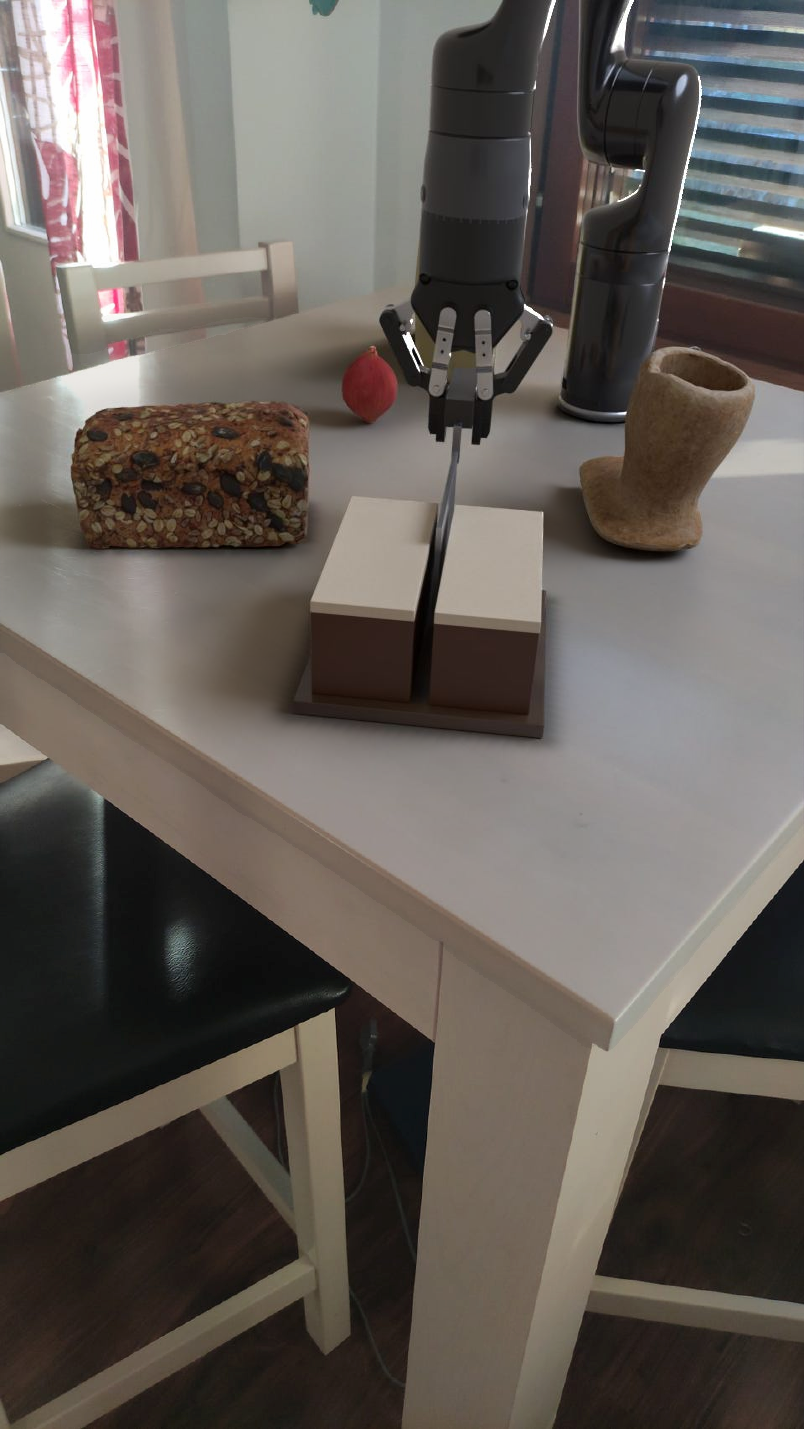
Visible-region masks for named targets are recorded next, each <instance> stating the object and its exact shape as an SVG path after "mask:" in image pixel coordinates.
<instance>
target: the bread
mask: <svg viewBox="0 0 804 1429" xmlns="http://www.w3.org/2000/svg"><path fill="white" fill-rule="evenodd" d="M73 446H74V447H73V448H74V449H73V452H72V453H71V462H72V463H71V465H70V479H71V484H72V492H73V494H74V497H75V502H76V503H75V504H76V510H77V515H78V518H79V523H80V524H79V525H80V528H81V530H82V533H83V535H84V538H85V540H86V543H87V546H88V547H92V548H93V549H97V550H98V549H99V550H100V549H109V547H110V546H113V547H122V548H131V549H135V548H137V549H138V548H139V549H140V548H144V547H148V548H151V549H152V548H153V549H166V548H172V547H173V548H179V547H181V548H210V547H212V548H219V547H221V546H233V547H236V548H237V547H239V548H240V547H246V548H247V547H248V548H249V547H250V548H251V547H253V548H260V547H267V546H271V547H279V546H280V547H281V546H282V545H285V544H286V543H289V544H293V545H298V544H300V543H302V542H305V541H306V540H307V533H308V517H309V503H310V470H311V469H310V456H309V455H310V420H309V418H308V412H307V411H305V410H304V409H303V408H301V406H298V405H294V404H290V403H287V402H285V401H278V400H277V401H276V400H275V401H274V400H272V401H257V400H249V401H239V402H229V403H225V402H218V401H207V402H204V401H203V402H199V403H190V402H187V403H186V404H183V403H180V404H177V405H165V404H161V405H159V404H158V405H140V406H120V407H110V408H109V407H107V408H104V409H103V408H102V409H101V410H98V411H96V412H95V413H93V415H91V416H90V417H88V418H86V420H85V421H84V426H83V428H79V427H78V429H77V431H76V432H75V438H74V444H73Z"/></svg>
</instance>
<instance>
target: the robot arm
mask: <svg viewBox="0 0 804 1429" xmlns="http://www.w3.org/2000/svg"><path fill="white" fill-rule="evenodd" d="M633 2H634V0H578V47H577V48H578V51H577V52H578V54H577V86H576V87H577V88H576V89H577V90H576V94H577V95H576V119H577V120H576V121H577V123H576V124H577V135H578V141H579V145H580V149H581V153H582V154H583V155H582V156H584V158H585V159H586V160H587V161H588V162H589V163H591V164H594V165H597V166H600V167H606V168H615V169H622V170H629V171H630V170H631V171H639V172H643V173H642V178H641V181H640V184H639V186H638V189H637V190H636V191H635V192H634V193H632V194H631V195H629V196H627V197H625V198H623V199H621V200H617V201H614V202H609V203H604V204H601V205H598V206H594V207H592V208H590V209H588V210H587V211H586V212H585V213H584V215H583V218H582V222H581V227H580V234H579V244H578V252H577V258H576V259H577V260H576V269H575V276H574V284H573V293H572V301H571V308H570V309H571V310H570V316H569V324H568V330H567V331H568V333H567V340H566V348H565V356H564V364H563V371H562V376H561V377H560V378H561V379H560V383H561V385H560V392H559V395H558V396H559V398H558V403H557V404H558V407H559V409H560V410H561V411H563V412H564V413H566V414H568V415H570V416H573V417H575V418H578V419H583V420H585V421H586V420H587V421H592V422H600V423H601V422H602V423H623V422H625V419H626V412H627V408H628V404H629V401H630V397H631V394H632V390H633V387H634V384H635V380H636V377H637V374H638V371H639V368H640V366H641V364H642V363H643V361H644V360H645V359H646V358H647V357H648V356H649V355H650V354H651V353H653V352H655V347H656V342H657V336H658V330H659V324H660V323H659V316H660V311H661V303H662V298H663V294H664V286H665V283H666V282H665V281H666V274H667V270H668V269H667V268H668V263H669V257H670V252H671V246H672V240H673V235H674V230H675V226H676V223H677V218H678V214H679V209H680V205H681V201H682V200H681V199H682V194H683V189H684V183H685V179H686V175H687V174H686V173H687V171H688V170H687V169H688V164H689V162H690V160H689V159H690V157H691V152H692V147H693V143H694V139H695V134H696V130H697V124H698V119H699V114H700V107H701V100H702V98H701V96H702V89H701V88H702V85H701V80H700V76H699V73H698V70H697V69H696V68H695V67H694V66H693V65H691V64H688V63H683V62H678V61H677V62H675V61H666V60H665V61H662V60H652V59H640V58H639V59H638V58H628V56H627V54H626V50H625V49H626V48H625V36H626V28H627V20H628V15H629V12H630V9H631V6H632V4H633ZM555 4H556V0H502V1H501V3H500V5H499V6H498V8H497V10H496V11H495V13H494V14H493V15H492V16H491V17H490V19H488V20H486V21H483V22H480V23H475V24H470V25H464V26H460V27H455V28H452V29H451V28H450V29H448V30H446V31H444V32H443V33H442V34H439V36H438V37H437V38H436V41H435V43H434V46H433V50H432V57H431V69H430V87H429V88H430V90H429V91H430V92H429V111H428V112H429V113H428V129H429V130H428V132H427V133H428V135H427V142H426V149H425V155H424V161H423V170H422V184H421V187H420V201H421V211H420V222H421V232H420V231H419V236H420V255H419V276H418V282H417V285H416V286H415V285H414V288H413V289H412V291H411V295H410V298H407V299H406V300H403V301H401V302H398V303H397V304H393V303H389V304H387V305H385V307H384V308H383V309H382V312H381V313H380V316H379V319H378V320H379V324H380V327H381V329H382V331H383V333H384V336H385V338H386V340H387V342H388V344H389V346H390V349H391V350H392V354H393V356H394V357H395V359H396V362H397V364H398V366H399V369H400V370H401V373H402V375H403V377H404V379H405V381H406V383H407V384H408V386H409V387H413V388H416V387H418V388H420V389H423V390H425V391H426V393H427V394H428V399H429V401H428V417H427V418H428V420H427V430H428V432H429V435H435V442H436V443H445V441H446V438H447V430H448V429H447V428H448V427H444V414H445V399H446V395H447V391H448V382H447V376H448V370H449V364H450V358H451V353H452V352H456V351H461V350H465V351H468V352H471V353H474V354H476V370H477V392H476V397H475V405H474V418H473V426H472V429H471V445H474V446H481V441H482V439H488V437H489V435H490V433H491V425H492V415H493V405H494V399H495V398H496V397H498V396H500V395H503V394H509V395H510V394H513V393H515V392H516V391H517V389H518V388H519V386H520V384H521V383H522V381H523V380H524V378H526V375H527V374H528V372H529V371H530V369H531V368H532V366H533V364H534V363H535V362H536V360H537V358H539V355H540V354H541V352H542V351H543V349H544V347H545V346H546V345H547V343H548V341H549V340H550V339H551V337H552V335H553V332H554V331H553V326H554V324H553V323H554V321H553V319H552V316H550V315H549V314H539V313H538V312H536V311H535V310H533V309H532V308H531V307H529V306H527V305H526V297H525V295H524V293H523V290H522V286H521V278H522V269H523V260H524V259H523V258H524V249H525V248H524V247H525V237H526V228H527V218H528V217H527V216H528V209H529V208H528V207H529V203H530V188H531V187H530V186H531V173H532V168H531V167H532V162H531V160H532V158H531V137H532V136H531V134H532V123H533V115H534V114H533V113H534V104H535V93H536V84H537V74H538V69H539V68H538V67H539V62H540V58H541V53H542V49H543V46H544V42H545V37H546V34H547V31H548V28H549V23H550V20H551V16H552V13H553V9H554V7H555ZM415 313H416V315H417V316H418V318H419V320H420V321H421V323H422V324H423V326H424V328H425V329H426V331H427V333H428V334H429V336H430V337H431V339H432V341H433V342H434V343H435V350H434V356H433V362H432V369H429V368H427V367H425V366H424V365H423V363H422V361H421V358H420V356H419V354H418V352H417V350H416V347H415V343H414V341H413V338H412V336H411V334H410V331H411V329H412V327H413V325H414V324H413V314H415ZM518 321H520V323H521V328H520V332H519V338H520V340H521V341H522V343H521V344H520V346H519V348H518V349H517V351H516V352H515V354H514V355H513V357H512V359H510V361H509V363H508V365H507V367H506V368H505V370H504V371H502V372H498V373H495V370H494V347H495V346H496V345H497V346H498V345H499V343H500V342H501V341H502V340H503V338H504V337H505V336H506V335H507V334H508V332H509V331H510V330H511V329H512V328H513V327H514V326H515V324H516V323H517V322H518ZM689 348H690V349H694V350H698V351H701V352H703V351H702V350H701V348H700V347H698V346H691V347H689Z"/></svg>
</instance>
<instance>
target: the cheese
mask: <svg viewBox="0 0 804 1429" xmlns="http://www.w3.org/2000/svg"><path fill="white" fill-rule="evenodd" d="M419 222H420V224H419V233H420V232H421V221H419ZM419 255H420V235H419V238H418V247H417V258H416V267H415V276H414V277H415V279H414V287H415V286H416V285H417V282H418V276H419ZM414 342H415V343H414V345H415V347H416V350H417V352H418V354H419V356H420V358H421V361H422V363H423V365H424V366H425V367H427V368H429V369H432V362H433V356H434V350H435V343H434V342H433V341H432V339H431V337H430V336H429V334H428V333H427V331H426V329H425V328H424V326H423V324H422V323H421V321H420V320H419V318H418V316H417V315H416V313H415V312H414ZM497 352H498V344H497V345H496V346H495V347H494V371H495V369H496V362H497ZM453 368H466V369H476V354H474V353H471V352H468V351H465V350H461V351H456V352H452V353H451V358H450V364H449V370H448V376H447V383H450V380H451V376H452V372H453Z"/></svg>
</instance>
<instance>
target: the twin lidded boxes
mask: <svg viewBox="0 0 804 1429" xmlns="http://www.w3.org/2000/svg"><path fill="white" fill-rule="evenodd" d="M438 519H439V502H438V503H437V502H429V501H427V502H425V501H415V500H404V499H403V500H402V499H390V498H380V497H379V498H378V497H369V496H368V497H366V496H354V495H351V497H350V499H349V502H348V504H347V507H346V509H345V512H344V514H343V516H342V519H341V522H340V525H339V527H338V529H337V532H336V535H335V537H334V539H333V542H332V545H331V548H330V550H329V553H328V555H327V557H326V561H325V563H324V565H323V568H322V570H321V572H320V575H319V578H318V580H317V583H316V585H315V588H314V591H313V593H312V596H311V598H310V602H309V605H310V606H309V610H310V613H309V614H310V654H309V657H308V659H307V662H306V664H305V668H304V670H303V673H302V676H301V678H300V681H299V684H298V686H297V689H296V692H295V695H294V698H293V701H292V705H293V706H292V708H293V711H292V712H293V714H296V715H307V716H316V717H327V718H335V719H336V718H337V719H347V720H356V721H368V722H376V723H377V722H378V723H385V724H388V723H389V724H397V725H407V726H415V727H416V726H417V727H428V728H436V729H446V730H447V729H448V730H457V731H467V732H476V733H486V734H497V735H506V736H516V737H526V738H537V739H543V738H544V732H545V720H546V719H545V718H546V716H545V714H546V712H545V711H546V709H545V708H546V646H547V644H546V641H547V640H546V639H547V637H546V636H547V590H546V589H543V553H544V552H543V551H544V550H543V546H544V544H543V543H544V512H543V511H537V510H536V511H535V510H526V509H525V510H522V509H511V508H501V507H500V508H499V507H488V506H477V505H476V506H475V505H466V504H465V505H464V504H454V513H453V518H452V523H451V528H450V534H449V539H448V544H447V550H446V555H445V560H444V565H443V571H442V576H441V581H440V587H439V592H438V597H437V602H436V608H435V613H434V626H431V609H432V593H433V577H434V560H435V544H436V528H437V523H438Z"/></svg>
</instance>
